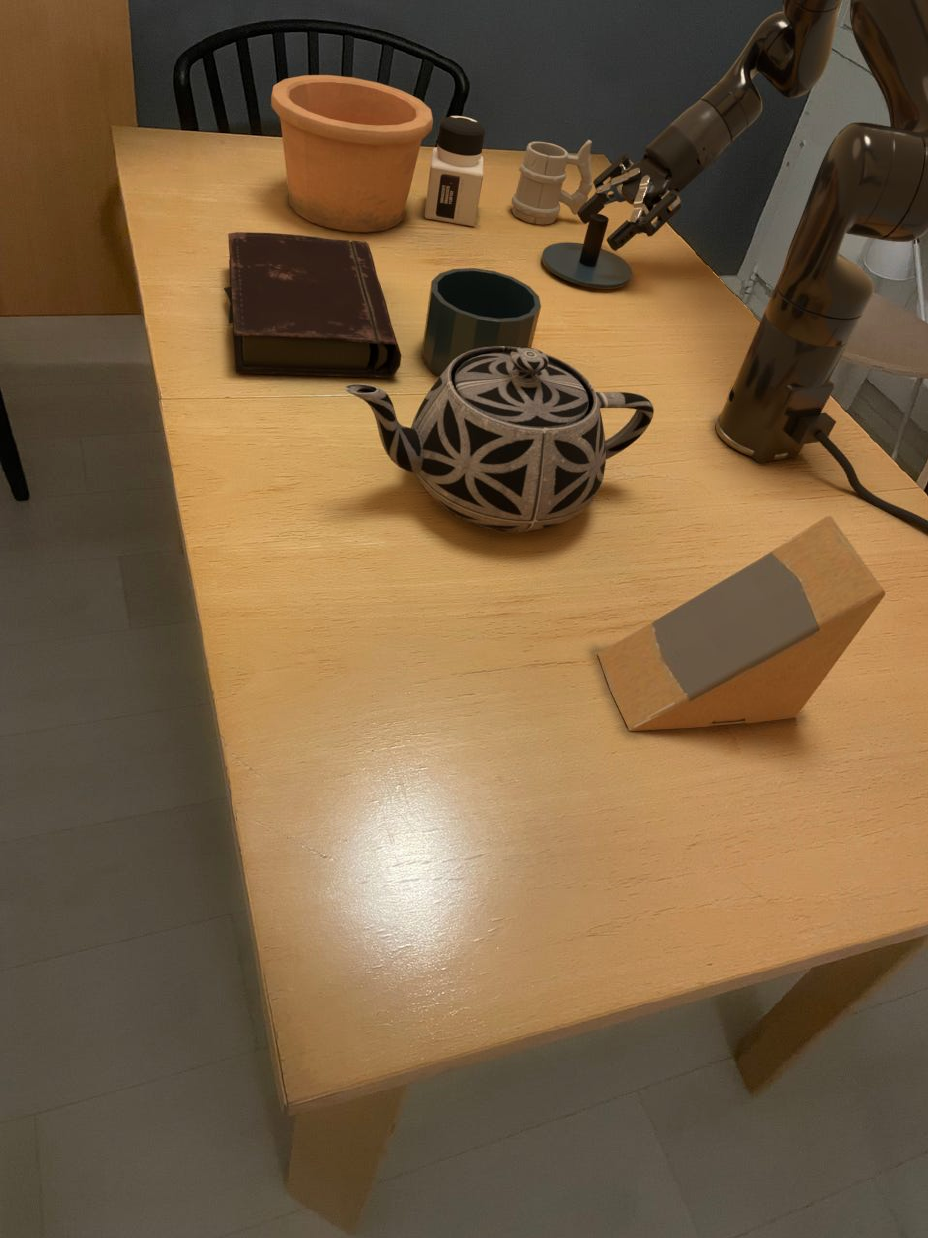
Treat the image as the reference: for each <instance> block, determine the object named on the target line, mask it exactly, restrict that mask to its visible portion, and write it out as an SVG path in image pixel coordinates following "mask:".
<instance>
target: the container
mask: <svg viewBox="0 0 928 1238" xmlns="http://www.w3.org/2000/svg"><path fill="white" fill-rule="evenodd" d="M485 135H486V130H485V127H484V126H483V125H482V124H481V123H480V122H479V121H477V120H476V119H474V118H471V117H468V116H463V115H461V116H460V115H450V116H448V117H444V118H443V119H442V120H441V121H440V123H439V130H438V138H437V146H436V147H434V148H432V152H431V160H430V168H429V176H428V183H427V191H426V197H425V198H426V199H425V208H424V218H425V219H427V220H432V221H433V220H434V221H439V222H443V223H444V222H445V223H451V224H455V225H462V226H468V227H475V226H476V222H477V217H478V216H477V215H478V211H479V204H480V198H481V191H482V186H483V180H484V161H485V160H484V156H482V153H483V147H484V140H485Z"/></svg>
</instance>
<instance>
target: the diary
mask: <svg viewBox="0 0 928 1238" xmlns="http://www.w3.org/2000/svg"><path fill="white" fill-rule="evenodd" d="M227 236H228V255H229V260H228V269H229V286H227V287H224V288H223V290H224V292H225V293H226V295H227V298H228V300H229V303H230V305H229V307H228V310H229V311H228V324H232V340H233V358H234V373H237V374H263V375H264V374H266V375H267V374H268V375H295V376H296V375H297V376H298V375H299V376H327V377H356V378H373V377H375V378H383V379H385V378H386V379H387V378H389V379H392V378H393V377H394V376H395V375H396V373H397V372H398V370H399V368H400V367H401V362H402V353H401V349H400V346H399V343H398V340H397V337H396V334H395V331H394V328H393V325H392V322H391V317H390V312H389V309H388V306H387V301H386V298H385V294H384V292H383V289H382V286H381V282H380V280H379V277H378V274H377V269H376V265H375V261H374V257H373V253H372V251H371V248H370V245H369V243H368V242H367V241H365V240H364V241H363V240H362V241H361V240H351V241H350V240H348V239H333V238H326V237H319V236H310V235H303V234H291V233H277V232H253V231H252V232H250V231H249V232H247V231H246V232H244V231H235V232H230V233H228V234H227Z"/></svg>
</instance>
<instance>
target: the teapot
mask: <svg viewBox="0 0 928 1238" xmlns="http://www.w3.org/2000/svg"><path fill="white" fill-rule="evenodd" d="M343 389H344V391H346V392H347V393H348V394H351V395H353V396H355V397H357V398H360V399H361V400H362V401H364V402H365V403H366V404H367V405H368V406H369V407H370V409H371V411H372V413H373V415H374V419H375V422H376V425H377V430H378V435H379V439H380V441H381V445H382V447H383V449H384V451H385V454H386V455H387V456H388V458H389V459H390V460H391V461H392V463H394V465H396V466H397V467H398V468H400V469H402V470H404V471H405V472H409V473H411V474H415V476H416V478H417V480H418V481H419V483H420V484H421V486H422V487H423V488H424V490H425V491H426V492H427V493H428V494H429V495H430V497H432V498H433V499H434V500H435V501H436V502H437V503H439V504H440V505H441V506H442V507H444V508H445V509H446V510H447V511H449V512H450V513H451V514H453V515H454V516H456V517H457V518H459V519H461V520H463V521H464V522H467V523H469V524H472V525H474V526H475V527H476V526H477V527H480V528H483V529H486V530H492V531H495V532H497V531H498V532H504V533H505V532H506V533H525V532H531V531H532V532H533V531H537V530H541V529H546V528H549V527H553V526H558V525H560V524H562V523H565V522H568V521H570V520H571V519H573V518H574V517H576V516H578V515H579V514H581V513H582V512H583V511H584V510H585V509H586V508H588V507H589V506H590V505H591V503H592V502H593V501H594V499H595V498H596V497H597V495H598V494H599V491H600V489H601V487H602V484H603V480H604V476H605V470H606V464H607V460H608V459H611V458H612V457H614V456H616V455H617V454H620V453H621V452H623V451H624V450H625V449H627V448H629V447H630V446H631V445H633V444H634V443H635V442H636V441H637V440H638V439H639V438H641V436H642V435H643V434H644V433H645V432H646V430H647V429H648V427H649V426H650V424H651V422H652V420H653V418H654V414H655V413H654V412H655V410H654V409H655V408H654V405H653V403H652V402H651V400H650V399H649V398H648V397H645V396H644V395H643V394H639V393H634V392H626V391H596V390H595V389H594V386H593V385H592V384H591V382H590V381H589V380H588V379H587V378H586V377H585V376H584V375H583V374H582V373H581V372H580V371H579V370H578V369H576V368H575V367H573V366H572V365H570V364H568V363H566V362H565V361H564V360H561V359H559V358H557V357H555V356H552V355H550V354H547V353H544V352H543V351H541V350H539V349H536V348H535V347H534V348H533V347H531V348H529V347H519V348H518V347H507V346H493V347H484V348H478V349H474V350H471V351H468V352H466V353H464V354H462V355H460V356H458V357H457V358H455V359H454V360H453V361H452V362H451V363H450V364H449V366H448V367H447V368H446V369H445V371H444V372H443V373H442V374H441V376H440V377H438V378H437V380H436V381H435V383H434V384H433V385H432V386H431V388H430V389H429V391H428V392H427V393H426V395H425V397H424V398H423V400H422V402H421V404H420V405H419V407H418V409H417V411H416V413H415V415H414V418H413V420H412V423H411V427H407V426H404V425H402V424H401V423H400V422H399V419H398V418H397V414H396V410H395V406H394V404H393V401H392V399H391V398H390V396H389V394H388V393H387V392H386V391H385V390H383V389H382V388H381V387H379V386H376V385H372V384H367V383H350V384H347V385H344V387H343ZM601 409H630V410H635V412H634V414H633V415H632V416H631V418H630V419H629V421H628V422H627V423H626V424H625V425H624V426H623V427H622V428H621V429H620V430H619V431H618V432H616V433H615V434H613V435H612V436H611V437H609V438H607V439H606V436H605V429H604V423H603V417H602V412H601Z"/></svg>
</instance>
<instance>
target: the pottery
mask: <svg viewBox="0 0 928 1238" xmlns="http://www.w3.org/2000/svg"><path fill="white" fill-rule="evenodd" d="M270 97H271V98H270V103H271V104H270V106H271V108H272V109H273V111H274V112H275V113H276V114H277V116H278V118H280V128H281V136H282V146H283V155H284V165H285V171H286V172H285V174H286V181H287V190H288V191H287V192H288V198H289V202H288V203H289V205H290V206H291V208H292V209H293V211H294V212H295V214H297V215H298V216H300V217H302V218H303V219H304V220H306V221H307V222H310V223H312V224H315V225H317V226H320V227H323V228H325V229H330V230H334V231H335V230H336V231H340V232H345V233H360V234H370V233H377V232H384V231H387V230H389V229H391V228H393V227H394V228H395V227H396V226H398V225H399V224H400V222H401V221H402V220H403V219H404V214H405V209H406V205H407V201H408V197H409V194H410V189H411V185H412V181H413V177H414V173H415V169H416V165H417V161H418V156H419V152H420V150H421V149H420V148H421V145H422V141H423V139H424V138H426V137H427V136H428V135H429V134H430V133H431V132H432V130H433V123H434V118H433V113H432V108H430V107H429V106H428V105H427V104H425V103H424V102H423V100H421V99H420V98H418V97H416V96H413V95H411V94H409V93H408V92H406V91H403V90H402V89H399V88H395V87H393V86H389V85H387V84H383V83H380V82H376V81H371V80H367V79H362V78H357V77H351V76H342V75H331V74H312V75H311V74H307V75H300V76H294V77H289V78H284V79H282V80H281V81H279V82H277V83H275V84H274V85H273V87H272V91H271V96H270Z"/></svg>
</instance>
